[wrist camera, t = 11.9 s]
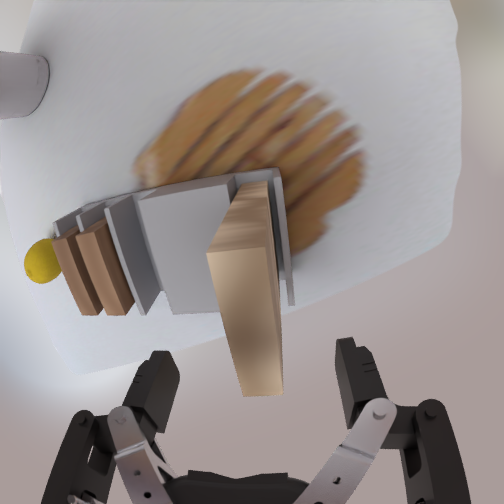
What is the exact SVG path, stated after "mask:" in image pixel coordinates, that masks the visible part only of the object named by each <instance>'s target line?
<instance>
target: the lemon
mask: <svg viewBox="0 0 504 504" xmlns="http://www.w3.org/2000/svg"><path fill="white" fill-rule="evenodd" d="M53 240H54V239H42V240H40V241H38V242H36V243H35V244H34V245H33V246H32V247H31V248H30V249H29V251H28V252H27V254H26V256H25V260H24V267H25V271H26V274H27V276H28V277H29V278H30V279H31V280H32V281H34V282H36V283H39V284H44V283H47V282H50V281H52V280H53V279H55V278H56V277H57V276H58V275H59V274H60V273H61V271H62V269H61V267H60V264H59V262H58V259H57V257H56V254H55V251H54V249H53V246H52V243H51V241H53Z"/></svg>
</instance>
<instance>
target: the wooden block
mask: <svg viewBox="0 0 504 504" xmlns="http://www.w3.org/2000/svg"><path fill="white" fill-rule="evenodd" d="M206 255H207V259H208V264H209V268H210V272H211V277H212V281H213V285H214V289H215V293H216V297H217V301H218V305H219V309H220V313H221V317H222V321H223V325H224V329H225V333H226V336H227V340H228V344H229V347H230V351H231V354H232V358H233V362H234V365H235V369H236V372H237V376H238V379H239V383H240V386H241V390H242V393H243V396H270V395H283V367H282V366H283V363H282V334H281V308H280V286H279V270H278V261H277V252H276V243H275V235H274V226H273V218H272V210H271V202H270V194H269V187H268V180H266V181H258V182H250V183H242V184H241V186H240V188H239V190H238V192H237V194H236V196H235V198H234V199H233V201H232V203H231V205H230V207H229V209H228V211H227V213H226V215H225V217H224V219H223V221H222V223H221V224H220V226H219V228H218V230H217V232H216V234H215V236H214V238H213V240H212V242H211V244H210V246H209V248H208V250H207V252H206Z"/></svg>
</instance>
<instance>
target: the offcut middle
mask: <svg viewBox="0 0 504 504" xmlns="http://www.w3.org/2000/svg"><path fill="white" fill-rule="evenodd" d="M75 237H76V240H77V242H78V245H79V248H80V251H81V254H82V257H83V259H84V262H85V265H86V267H87V270H88V272H89V275H90V277H91V280H92V282H93V285H94V287H95V289H96V292H97V294H98V296H99V298H100V301H101V303H102V305H103V307H104V309H105V312H106V314H107V315H126V314H127V313H128V311H129V310H130V308H131V307H132V306H133V304H134V303H135V299H134V297H133V294H132V292H131V289H130V287H129V284H128V282H127V279H126V276H125V274H124V271H123V268H122V265H121V262H120V260H119V257H118V254H117V251H116V248H115V245H114V242H113V238H112V235H111V232H110V229H109V225H108V222H107V219H106V216H105V217H104V218H102V219H101V220H99V221H98V222H96V223H94V224H93V225H91V226H90V227H88V228H87V229H85V230H84V231H82V232H81V233H79V234H78V235H76V236H75Z"/></svg>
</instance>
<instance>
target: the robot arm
mask: <svg viewBox="0 0 504 504" xmlns="http://www.w3.org/2000/svg"><path fill="white" fill-rule="evenodd" d="M48 78H49V68H48V64H47V61H46V60H45V58H43V57H42V56H36V55H29V54H22V53H13V52H1V51H0V119H8V118H16V117H24V116H27V115H29V114H31V113H32V112H33V111H34V110H35V109H36V108H37V106H38V105H39V103H40V102H41V100H42V98H43V96H44V93H45V91H46V87H47V83H48ZM335 370H336V375H337V380H338V384H339V388H340V394H341V399H342V404H343V409H344V414H345V419H346V424H347V429H351V431H350V432H349V434H348V436H347V437H346V438H345V440H344V441H343V443H342V444H341V445H339V446H338V447H337V449H336V450H335V451H334V453H333V454H332V456H331V457H330V458H329V460H328V461H327V463H326V464H325V465H324V466H323V468H322V469H321V470H320V472H319V473H318V474H317V476H316V477H315V478H314V480H313V481H312V482H311V483H310V484H309V483H307V482H305V481H302V480H299V479H295V478H290V477H288V473H272V474H259V475H255V476H250V477H245V478H239V479H233V478H229V477H225V476H222V475H218V474H215V473H212V472H203V471H193V470H188V475H185V476H180V477H178V476H177V474H176V473H175V472H174V471H173V469H172V468H171V467H170V465H169V463H168V461H167V459H166V458H165V456H164V454H163V452H162V450H161V448H160V446H159V444H158V442H157V440H156V438H155V434H156V432H158V433H164V432H165V428H166V425H167V422H168V418H169V415H170V411H171V408H172V405H173V401H174V397H175V395H176V391H177V388H178V384H179V381H180V374H179V371H178V368H177V366H176V364H175V362H174V360H173V358H172V356H171V353H170V352H169V351H153V352H152V354H151V357H150V359H149V360H145V361H144V362H143V363H142V364H141V365H140V366H139V368H138V370H137V372H136V374H135V377H134V379H133V383H132V384H131V386H130V388H129V390H128V392H127V395H126V397H125V399H124V402H123V404H122V406H119V407H116V408H114V409H113V410H112V411H111V412H110V413H109V415H102V416H94V415H93V414H92V413H91V412H90V411H88V410H81V411H79V412H77V413H76V414H75V415H74V416H73V418H72V420H71V423H70V425H69V427H68V430H67V433H66V435H65V437H64V440H63V442H62V444H61V447H60V450H59V452H58V455H57V457H56V460H55V463H54V466H53V468H52V471H51V474H50V477H49V479H48V483H47V485H46V489H45V492H44V495H43V498H42V502H41V504H106V503H107V499H108V495H109V491H110V487H111V483H112V479H113V474H114V471H115V467H116V464H117V467H118V470H119V472H120V475H121V477H122V480H123V482H124V485H125V487H126V489H127V491H128V494H129V496H130V499H131V501H132V503H133V504H345V503H346V502H347V500H348V499H349V498H350V496H351V495H352V493H353V492H354V490H355V489H356V487H357V486H358V484H359V483H360V481H361V480H362V478H363V476H364V475H365V473H366V472H367V470H368V469H369V467H370V465H371V463H372V462H373V460H374V458H375V456H376V454H377V453H378V451H379V449H399V450H400V455H401V461H402V467H403V473H404V480H405V486H406V494H407V502H408V504H471V500H470V495H469V490H468V485H467V480H466V476H465V472H464V468H463V463H462V460H461V456H460V453H459V449H458V445H457V442H456V439H455V436H454V432H453V429H452V426H451V423H450V420H449V417H448V414H447V411H446V409H445V406H444V405H443V404H442V403H441V402H440V401H438V400H435V399H428V400H425V401H423V402H421V403H420V404H419V405H418V406H417V407H415V406H412V407H411V406H409V407H408V406H398V405H396V404H394V403H393V402H392V401H390V400H389V399H388V397H387V395H386V392H385V389H384V386H383V383H382V380H381V378H380V375H379V372H378V370H377V367H376V364H375V361H374V358H373V356H372V353H371V352H370V351H369V350H368V349H367V348H366V347H365V346H361V347H356V345H355V342H354V339H353V338H352V337H349V338H343V339H337V341H336V355H335ZM92 446H93V450H92V453H91V456H90V459H89V462H88V457H89V454H90V451H91V448H92Z"/></svg>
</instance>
